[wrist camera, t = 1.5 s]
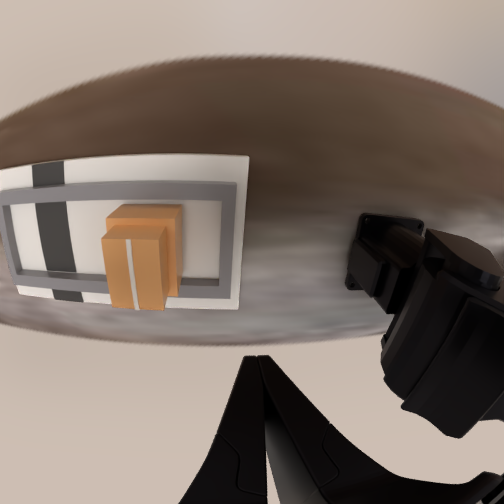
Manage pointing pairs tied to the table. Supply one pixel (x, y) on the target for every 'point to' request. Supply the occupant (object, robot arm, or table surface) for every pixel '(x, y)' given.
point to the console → (108, 200)
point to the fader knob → (143, 255)
